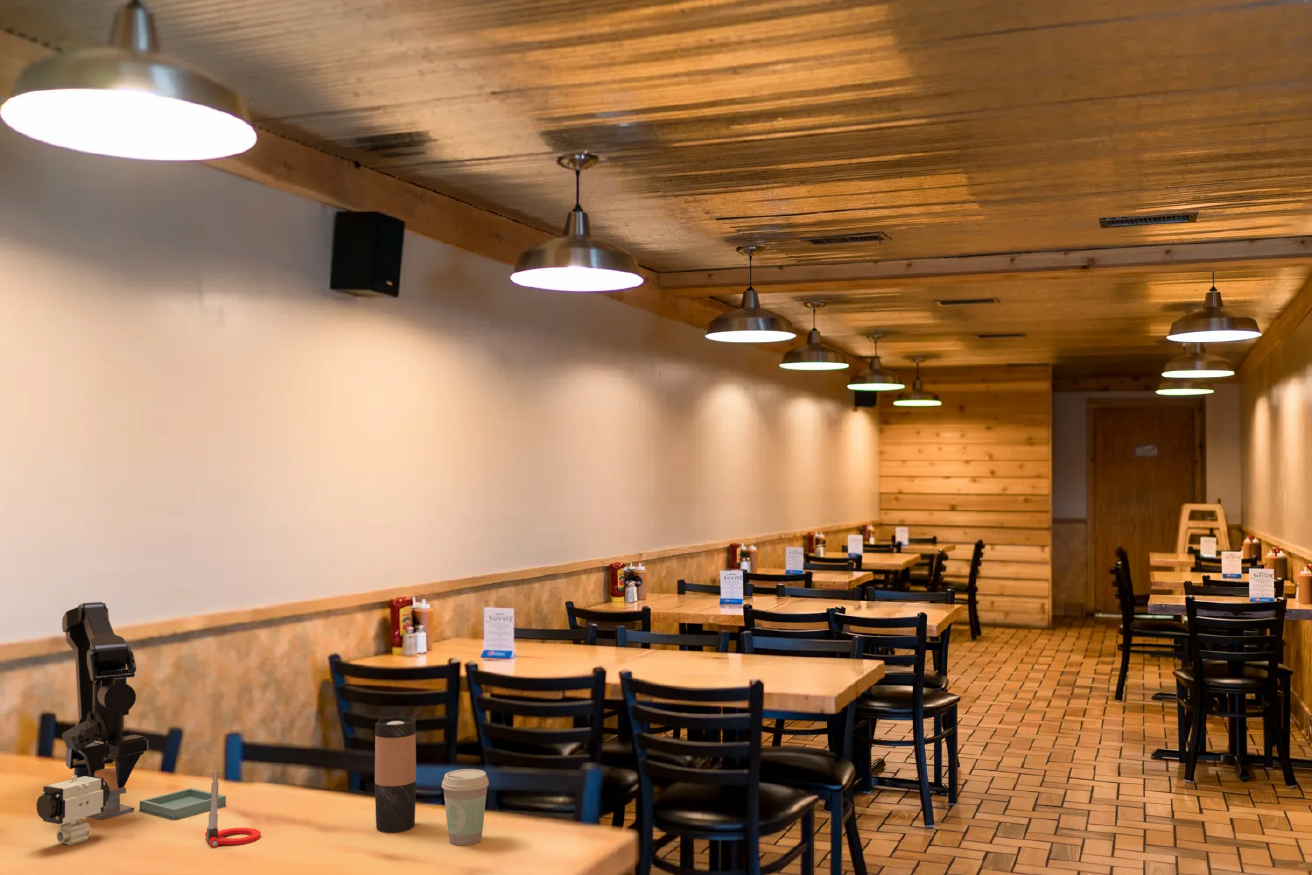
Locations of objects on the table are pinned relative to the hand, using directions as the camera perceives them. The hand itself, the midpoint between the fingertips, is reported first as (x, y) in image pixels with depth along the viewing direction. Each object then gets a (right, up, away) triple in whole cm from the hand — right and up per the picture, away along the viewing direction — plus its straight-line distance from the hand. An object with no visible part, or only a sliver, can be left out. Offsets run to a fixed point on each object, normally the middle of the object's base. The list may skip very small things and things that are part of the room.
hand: (107, 784), depth 229 cm
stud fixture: (0, -6, 0) cm, 6 cm away
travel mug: (+60, -5, -11) cm, 61 cm away
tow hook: (+32, -5, -18) cm, 37 cm away
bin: (+14, -6, +2) cm, 15 cm away
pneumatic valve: (+3, -5, -19) cm, 20 cm away
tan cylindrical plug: (0, -2, 0) cm, 2 cm away
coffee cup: (+75, -4, -20) cm, 77 cm away
